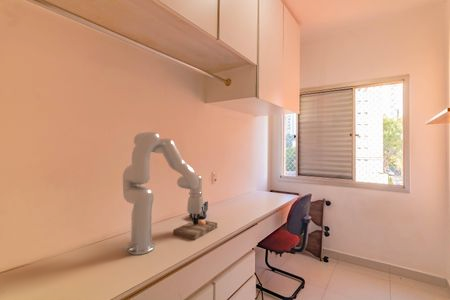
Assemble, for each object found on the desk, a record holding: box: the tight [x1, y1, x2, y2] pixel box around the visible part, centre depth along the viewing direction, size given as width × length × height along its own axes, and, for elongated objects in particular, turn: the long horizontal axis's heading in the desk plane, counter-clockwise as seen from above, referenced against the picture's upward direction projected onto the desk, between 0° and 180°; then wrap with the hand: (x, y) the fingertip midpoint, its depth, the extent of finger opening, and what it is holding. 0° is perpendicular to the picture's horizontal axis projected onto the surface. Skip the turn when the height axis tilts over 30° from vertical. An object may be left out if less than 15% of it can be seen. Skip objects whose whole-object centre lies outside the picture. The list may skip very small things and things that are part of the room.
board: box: [172, 218, 218, 241], centre depth 140 cm, size 24×16×3 cm, turn 150°
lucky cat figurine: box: [188, 200, 209, 219], centre depth 169 cm, size 15×12×14 cm
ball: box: [198, 219, 206, 226], centre depth 146 cm, size 5×5×5 cm
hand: (195, 223), depth 141 cm, fingers closed
